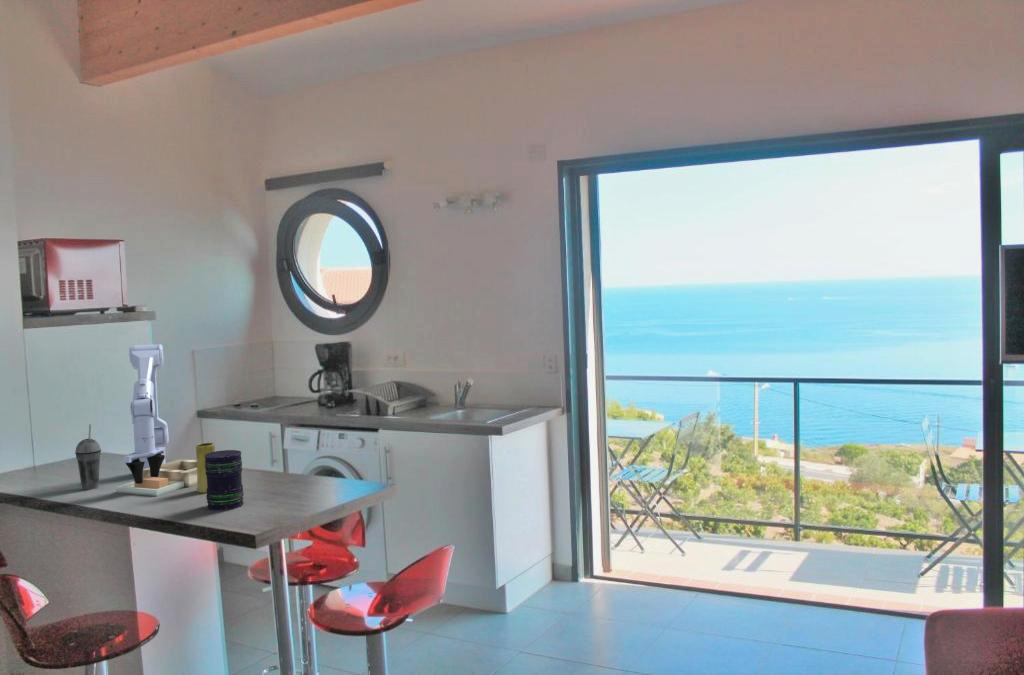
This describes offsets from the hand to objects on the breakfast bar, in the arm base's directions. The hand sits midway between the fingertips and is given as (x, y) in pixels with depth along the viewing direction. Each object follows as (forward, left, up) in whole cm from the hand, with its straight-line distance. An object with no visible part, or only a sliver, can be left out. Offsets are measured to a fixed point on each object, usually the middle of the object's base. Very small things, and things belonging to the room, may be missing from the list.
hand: (146, 481), depth 245 cm
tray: (+1, 0, -3) cm, 3 cm away
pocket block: (+1, +14, -3) cm, 14 cm away
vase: (+20, +4, -3) cm, 20 cm away
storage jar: (+38, -9, -3) cm, 39 cm away
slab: (+2, 0, -2) cm, 3 cm away
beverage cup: (-20, -3, -3) cm, 21 cm away
